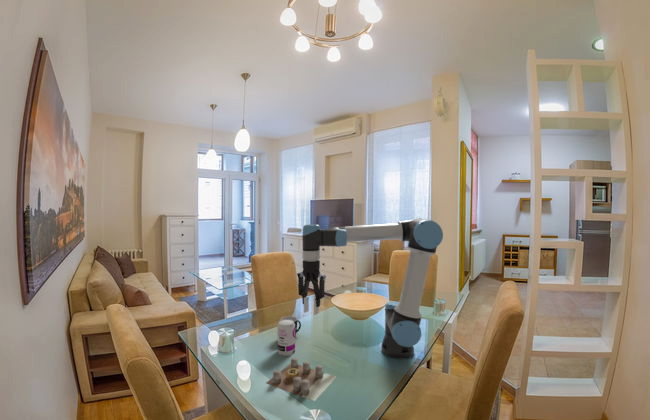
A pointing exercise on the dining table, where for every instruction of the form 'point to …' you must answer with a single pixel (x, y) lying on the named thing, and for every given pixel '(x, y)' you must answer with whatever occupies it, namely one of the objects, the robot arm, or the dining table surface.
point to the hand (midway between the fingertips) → (311, 312)
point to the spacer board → (290, 383)
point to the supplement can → (286, 337)
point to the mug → (294, 322)
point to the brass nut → (292, 374)
